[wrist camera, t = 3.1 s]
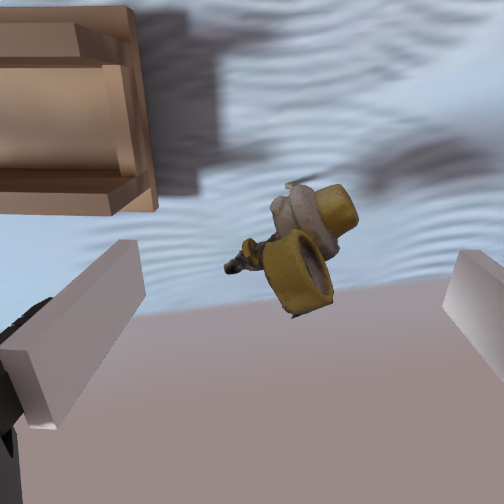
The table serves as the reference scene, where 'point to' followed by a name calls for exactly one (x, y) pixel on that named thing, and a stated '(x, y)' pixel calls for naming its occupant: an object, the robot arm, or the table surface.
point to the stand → (73, 113)
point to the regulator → (300, 246)
